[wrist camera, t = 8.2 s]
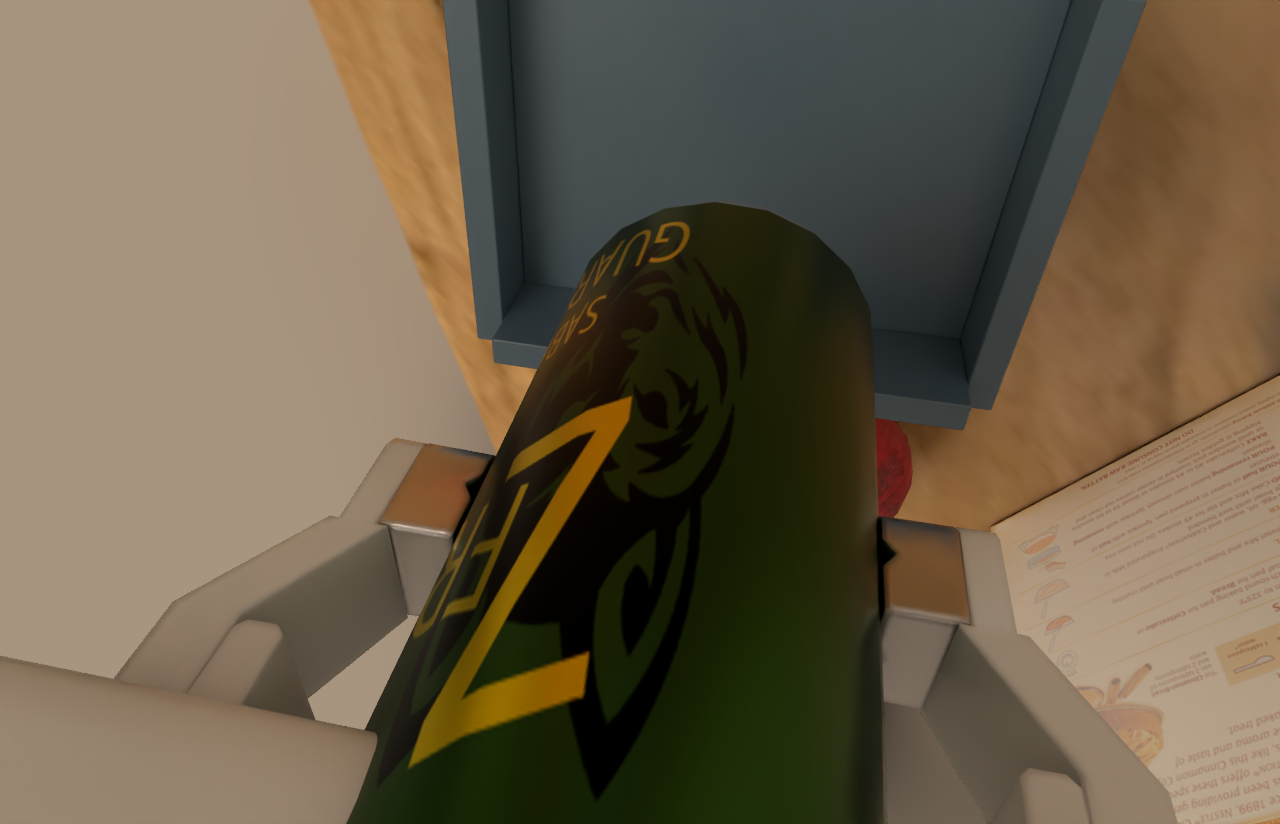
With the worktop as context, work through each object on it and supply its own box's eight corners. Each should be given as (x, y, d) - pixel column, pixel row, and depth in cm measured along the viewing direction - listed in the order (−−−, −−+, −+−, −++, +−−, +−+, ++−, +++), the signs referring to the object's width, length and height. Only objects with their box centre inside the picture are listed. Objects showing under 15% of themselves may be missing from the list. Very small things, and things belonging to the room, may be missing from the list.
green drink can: (939, 300, 15) (1078, 1248, 6) (752, 472, 18) (649, 1245, 9) (683, 117, 14) (340, 935, 5) (533, 337, 17) (161, 1064, 8)
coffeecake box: (1073, 599, 44) (1183, 1050, 29) (983, 524, 42) (1053, 967, 27) (1404, 454, 35) (1801, 992, 21) (1311, 351, 33) (1676, 865, 19)
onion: (862, 340, 37) (864, 465, 31) (932, 428, 39) (946, 560, 33) (753, 399, 40) (735, 522, 34) (824, 477, 42) (819, 606, 36)
